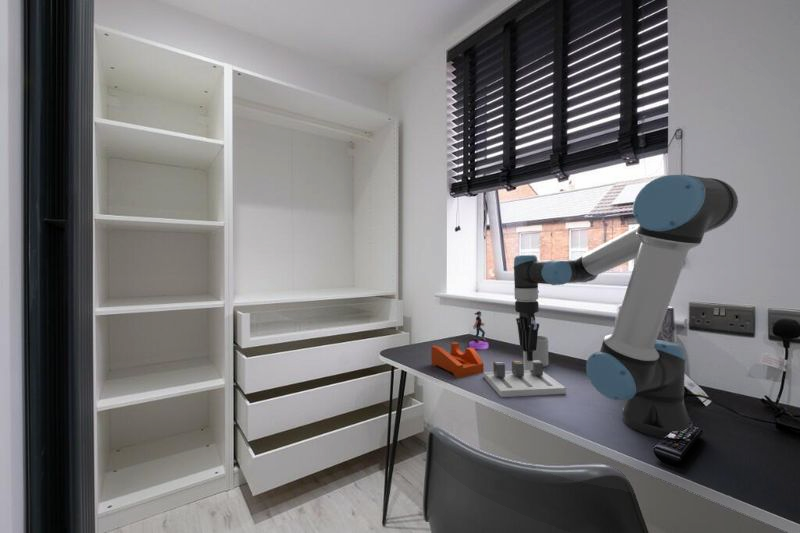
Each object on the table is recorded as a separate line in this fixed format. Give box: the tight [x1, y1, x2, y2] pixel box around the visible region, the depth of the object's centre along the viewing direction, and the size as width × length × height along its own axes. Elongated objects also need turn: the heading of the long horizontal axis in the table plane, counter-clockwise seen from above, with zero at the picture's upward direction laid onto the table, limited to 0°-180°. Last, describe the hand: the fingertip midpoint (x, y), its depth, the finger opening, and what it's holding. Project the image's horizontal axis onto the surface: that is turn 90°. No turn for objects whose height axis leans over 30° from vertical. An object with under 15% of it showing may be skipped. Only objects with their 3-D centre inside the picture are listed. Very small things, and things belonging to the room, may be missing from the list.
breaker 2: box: [511, 360, 524, 377], centre depth 125 cm, size 4×3×5 cm
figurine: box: [468, 310, 489, 350], centre depth 171 cm, size 9×9×18 cm
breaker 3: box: [530, 360, 544, 376], centre depth 125 cm, size 4×3×5 cm
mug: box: [533, 335, 549, 368], centre depth 143 cm, size 12×8×11 cm
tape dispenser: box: [430, 341, 484, 379], centre depth 140 cm, size 18×13×8 cm
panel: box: [483, 370, 567, 398], centre depth 121 cm, size 18×22×2 cm
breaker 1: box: [492, 361, 506, 378], centre depth 124 cm, size 4×3×5 cm
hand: (528, 369), depth 116 cm, fingers closed
